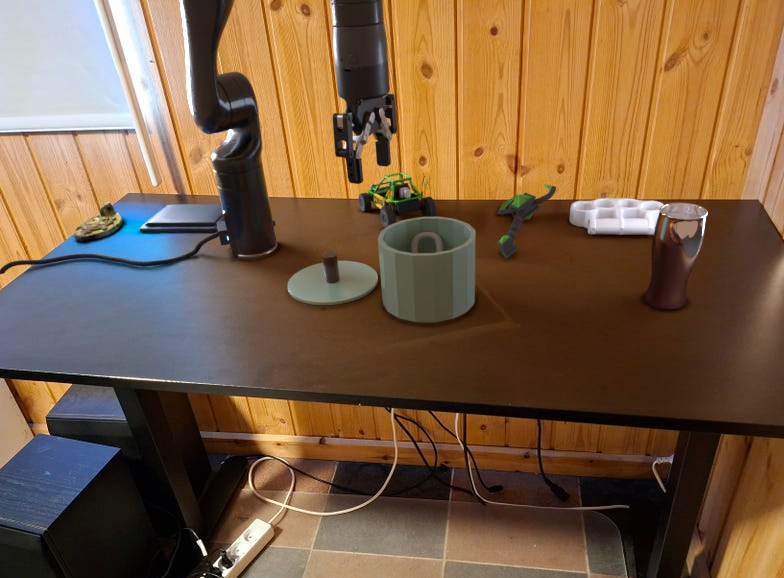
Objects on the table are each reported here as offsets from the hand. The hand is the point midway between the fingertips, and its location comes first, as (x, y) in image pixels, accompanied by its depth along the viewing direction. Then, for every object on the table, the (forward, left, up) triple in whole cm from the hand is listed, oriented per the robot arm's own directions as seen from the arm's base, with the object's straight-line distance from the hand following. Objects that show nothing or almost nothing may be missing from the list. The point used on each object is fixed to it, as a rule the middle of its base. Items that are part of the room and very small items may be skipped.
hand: (370, 174), depth 98 cm
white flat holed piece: (+52, +10, -21) cm, 57 cm away
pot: (+7, -6, -21) cm, 23 cm away
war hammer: (+33, +16, -21) cm, 42 cm away
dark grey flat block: (-31, +52, -21) cm, 64 cm away
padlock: (+7, -5, -20) cm, 21 cm away
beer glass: (+42, -20, -21) cm, 51 cm away
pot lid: (-7, +6, -20) cm, 23 cm away
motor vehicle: (+13, +34, -21) cm, 42 cm away
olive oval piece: (-52, +56, -21) cm, 79 cm away
